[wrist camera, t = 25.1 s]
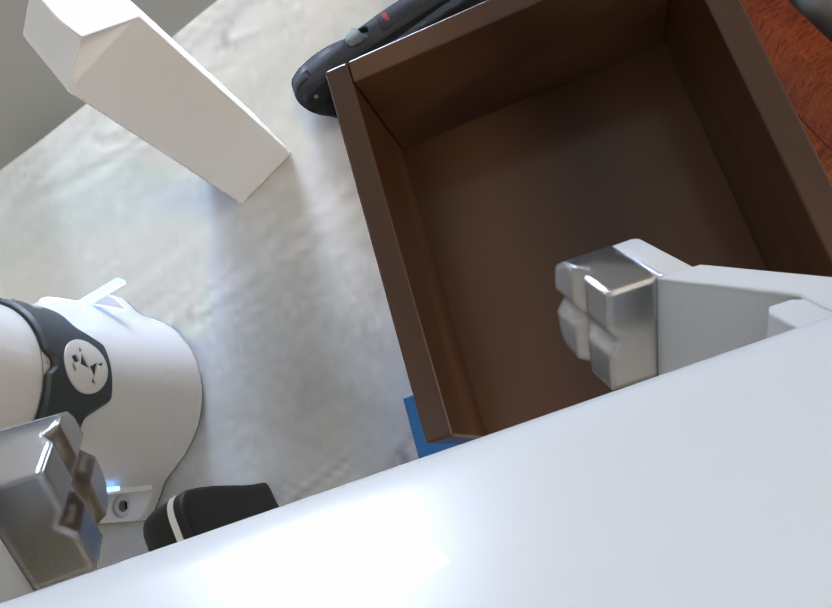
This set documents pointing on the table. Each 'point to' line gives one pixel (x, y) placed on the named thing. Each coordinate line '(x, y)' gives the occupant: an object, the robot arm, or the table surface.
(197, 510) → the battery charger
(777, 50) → the milk bottle holder
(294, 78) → the can opener
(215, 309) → the table surface
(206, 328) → the table surface
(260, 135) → the milk
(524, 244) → the wooden pedestal stand
